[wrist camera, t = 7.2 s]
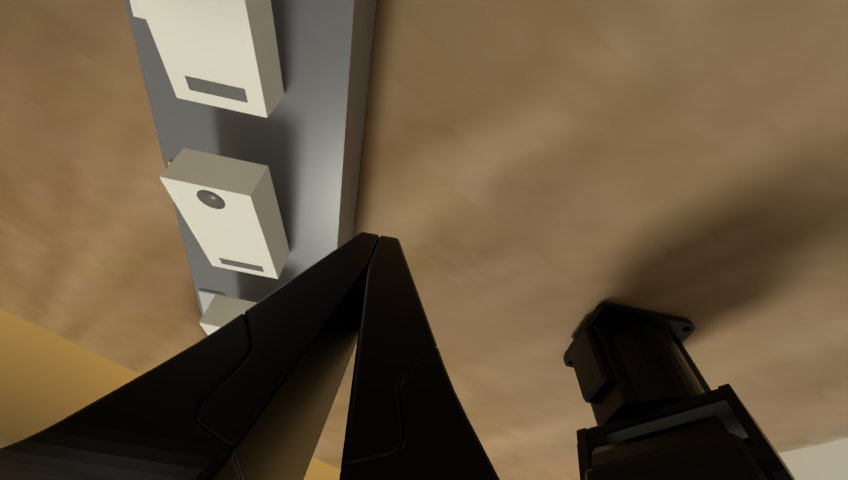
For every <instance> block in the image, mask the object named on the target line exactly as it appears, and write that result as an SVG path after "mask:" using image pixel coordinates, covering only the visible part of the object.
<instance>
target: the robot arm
mask: <svg viewBox="0 0 848 480" xmlns="http://www.w3.org/2000/svg"><path fill="white" fill-rule="evenodd" d="M606 310H607V311H606ZM694 329H695V326H694V324H693V323H692V322H691V320H688V319H684V318H679V317H674V316H669V315H664V314H660V313H655V312H650V311H645V310H640V309H635V308H631V307H626V306H621V305H616V304H611V303H603V304H601V305H600V306H599V307H598V308H597V310H596V311H595V313H594V314H593V315H592V317H591V318H590V320H589V321H588V323H587V324H586V326H585V327H584V328H583V329H582V331H581V332H580V334H579V335H578V337H577V338H576V340H575V341H574V342H573V344H572V345H571V347H570V348H569V350H568V352H567V353H566V355H565V356H564V358H563V359H564V362H565V365H566V366H569V367H573V368H574V369H575V372H576V376H577V379H578V382H579V386H580V389H581V392H582V396H583V398H584V400H585V402H587V403H591V406H592V410H593V413H594V416H595V419H596V422H597V426H595V427H592V428H589V429H586V428H583V429H580V430H577V441H578V444H577V449H578V460H579V471H580V480H795V478H794V477H793V475H792V474H791V472H790V471H789V469H788V468H787V466H786V465H785V463H784V462H783V460H782V459H781V457H780V456H779V454H778V453H777V451H776V450H775V449H774V447H773V446H772V444H771V443H770V441H769V440H768V438H767V437H766V435H765V434H764V433H763V431H762V430H761V428H760V427H759V425H758V424H757V422H756V421H755V420H754V418H753V417H752V415H751V414H750V413H749V411H748V410H747V408H746V407H745V406H744V404H743V403H742V401H741V400H740V399H739V397H738V396H737V395H736V393H735V392H734V390H733V389H732V388H731V386H730V385H729V384H725V385H722V386H719V387H718V388H719V389H716V390H713V391H711V389H710V388H709V386H708V384H707V383H706V381H705V380H704V378H703V376H702V375H701V373H700V372H699V370H698V368H697V367H696V365H695V363H694V362H693V360H692V359H691V357H690V355H689V354H688V352H687V351H686V349H685V347H684V346H683V344H682V342H683V341H684V340H685V339H686V338H687V337H688V336H689V335H690V334H691V333H692V332H693V331H694ZM357 340H358V341H357ZM356 342H357V349H356V356H355V364H354V372H353V379H352V387H351V395H350V402H349V410H348V418H347V425H346V433H345V441H344V448H343V456H342V464H341V473H340V480H500V479H499V478H498V476H497V474H496V472H495V470H494V468H493V466H492V464H491V462H490V460H489V458H488V456H487V454H486V452H485V450H484V449H483V447H482V445H481V443H480V441H479V439H478V437H477V435H476V433H475V431H474V429H473V427H472V425H471V423H470V422H469V420H468V418H467V416H466V413H465V411H464V409H463V407H462V405H461V403H460V401H459V399H458V397H457V395H456V393H455V391H454V388H453V386H452V383H451V381H450V378H449V376H448V373H447V371H446V368H445V366H444V363H443V361H442V358H441V355H440V352H439V350H438V348H436V347H437V345H436V342H435V339H434V336H433V333H432V331H431V328H430V325H429V322H428V320H427V317H426V314H425V311H424V309H423V306H422V303H421V300H420V297H419V295H418V292H417V289H416V286H415V284H414V281H413V278H412V275H411V273H410V270H409V267H408V264H407V261H406V259H405V256H404V253H403V250H402V248H401V245H400V242H399V240H398V239H397V238H393V237H387V236H381V237H380V238H379V236H378V235H376V234H370V233H365V232H361V233H359V234H358V235H356V236H355V237H353V238H352V239H350V240H349V241H347V242H346V243H344V244H343V245H342V246H340V247H339V248H337V249H336V250H334V251H333V252H331V253H330V254H328V255H327V256H325V257H324V258H322V259H321V260H320V261H318V262H317V263H315V264H314V265H312V266H311V267H309V268H308V269H306V270H305V271H303V272H302V273H300V274H299V275H298V276H296V277H295V278H293V279H292V280H290V281H289V282H287V283H286V284H284V285H283V286H281V287H280V288H278V289H277V290H275V291H274V292H273V293H271V294H270V295H268V296H267V297H265V298H264V299H262V300H261V301H259V302H258V303H256V304H255V305H253V306H252V307H251V308H249V309H248V310H246V311H245V315H244V314H240V315H239V316H237V317H236V318H234V319H233V320H231V321H230V322H228V323H227V324H225V325H224V326H222V327H221V328H219V329H218V330H216V331H215V332H213V333H211V334H210V335H208V336H207V337H205V338H204V339H202V340H201V341H199V342H198V343H196V344H194V345H193V346H191V347H189V348H188V349H186V350H184V351H182V352H181V353H179V354H177V355H176V356H174V357H172V358H171V359H169V360H167V361H165V362H164V363H162V364H160V365H159V366H157V367H155V368H153V369H152V370H150V371H148V372H146V373H144V374H143V375H141V376H139V377H138V378H136V379H134V380H132V381H130V382H129V383H127V384H125V385H123V386H121V387H120V388H118V389H116V390H114V391H113V392H111V393H109V394H107V395H105V396H104V397H102V398H100V399H98V400H97V401H95V402H93V403H91V404H90V405H88V406H86V407H84V408H82V409H81V410H79V411H77V412H75V413H74V414H72V415H70V416H68V417H66V418H65V419H63V420H61V421H59V422H57V423H55V424H54V425H52V426H50V427H48V428H46V429H44V430H42V431H40V432H38V433H36V434H33V435H31V436H29V437H27V438H25V439H23V440H20V441H18V442H15V443H13V444H10V445H8V446H5V447H3V448H0V480H303V479H304V476H305V474H306V471H307V469H308V466H309V463H310V461H311V458H312V456H313V453H314V451H315V448H316V446H317V443H318V440H319V438H320V435H321V433H322V430H323V428H324V425H325V422H326V420H327V417H328V415H329V412H330V409H331V407H332V404H333V402H334V399H335V397H336V394H337V391H338V389H339V386H340V384H341V381H342V379H343V376H344V373H345V371H346V368H347V366H348V363H349V360H350V358H351V355H352V353H353V350H354V348H355V345H356Z"/></svg>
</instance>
